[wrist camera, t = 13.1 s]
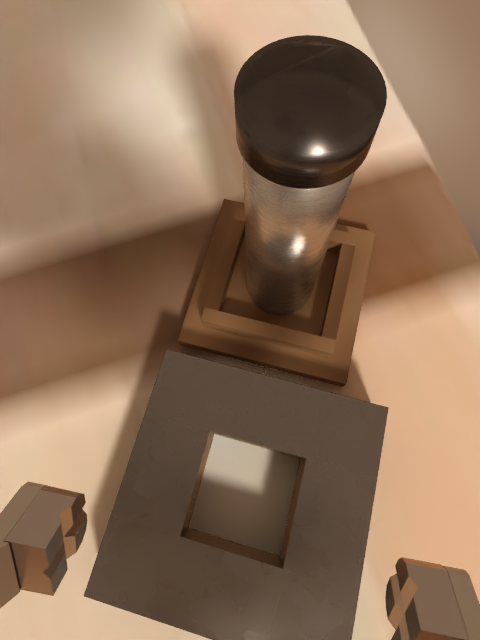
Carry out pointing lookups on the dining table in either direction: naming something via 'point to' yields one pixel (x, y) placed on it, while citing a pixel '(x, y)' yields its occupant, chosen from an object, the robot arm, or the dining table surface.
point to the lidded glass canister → (300, 157)
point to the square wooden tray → (279, 330)
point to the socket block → (229, 557)
